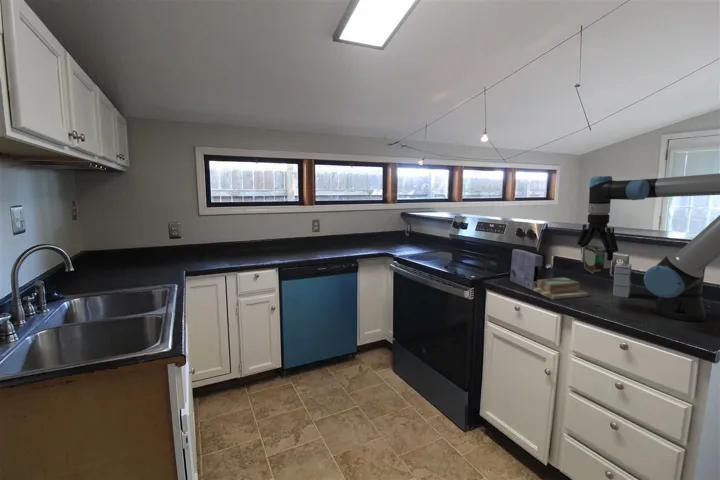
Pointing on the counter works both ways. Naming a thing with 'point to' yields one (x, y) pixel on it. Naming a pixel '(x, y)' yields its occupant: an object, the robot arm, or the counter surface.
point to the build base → (562, 295)
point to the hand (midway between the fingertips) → (595, 264)
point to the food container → (594, 259)
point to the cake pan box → (526, 268)
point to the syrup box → (622, 280)
